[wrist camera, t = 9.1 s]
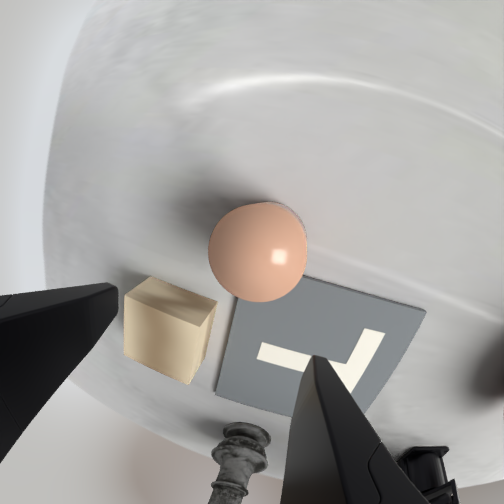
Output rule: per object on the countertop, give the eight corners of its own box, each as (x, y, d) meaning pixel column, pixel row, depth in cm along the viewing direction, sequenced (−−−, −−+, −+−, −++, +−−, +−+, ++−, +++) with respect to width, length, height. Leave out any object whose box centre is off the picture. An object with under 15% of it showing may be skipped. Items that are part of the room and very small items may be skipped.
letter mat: (425, 310, 18) (426, 312, 18) (352, 425, 23) (352, 429, 22) (248, 259, 20) (247, 261, 19) (216, 392, 24) (214, 395, 24)
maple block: (218, 300, 22) (199, 327, 18) (205, 356, 24) (188, 385, 20) (151, 275, 22) (124, 294, 19) (146, 331, 24) (123, 354, 21)
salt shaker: (210, 424, 26) (170, 511, 15) (256, 416, 24) (224, 518, 13) (238, 452, 27) (209, 532, 16) (282, 446, 25) (262, 537, 14)
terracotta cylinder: (316, 214, 18) (319, 221, 13) (293, 284, 19) (289, 314, 14) (243, 193, 19) (221, 192, 14) (225, 262, 20) (199, 284, 15)
